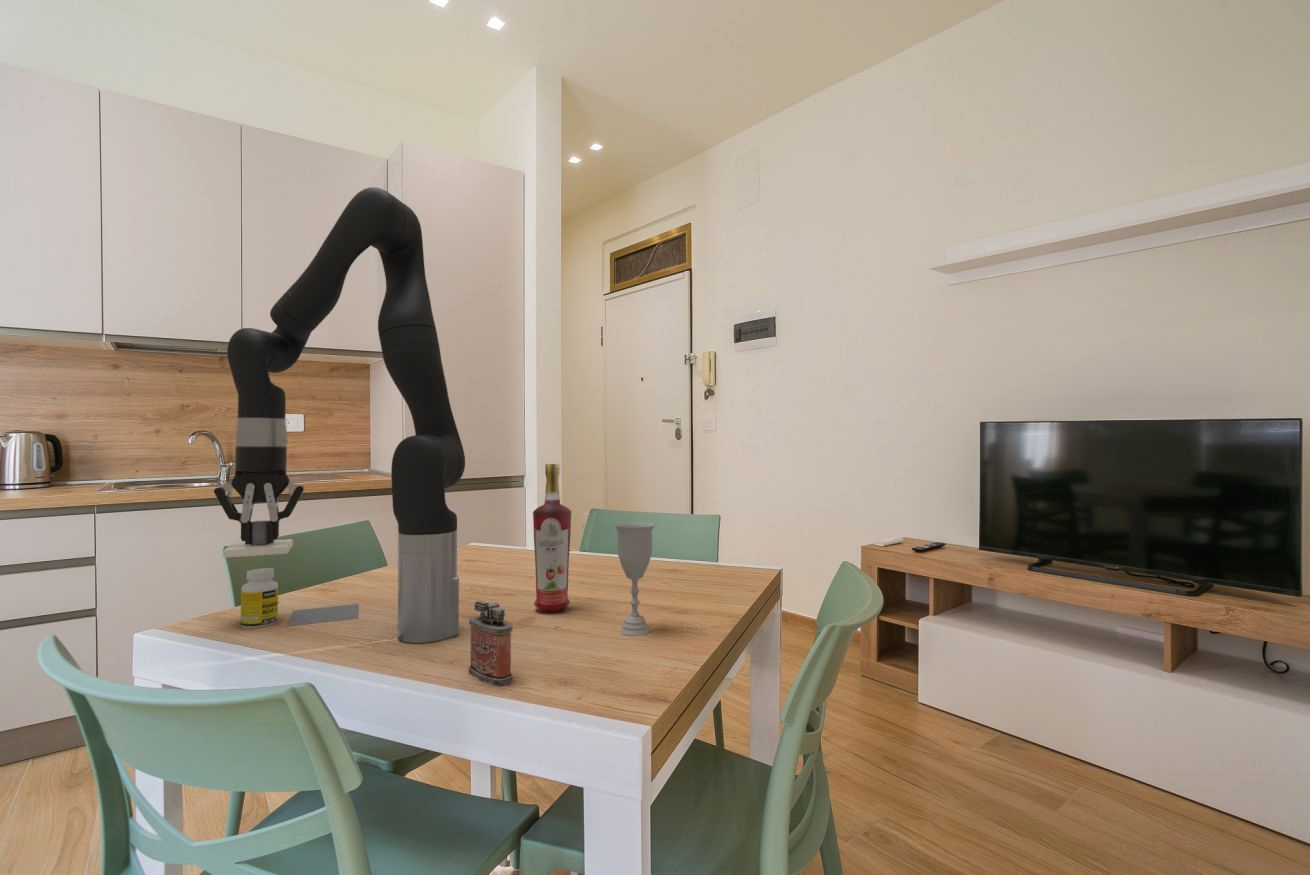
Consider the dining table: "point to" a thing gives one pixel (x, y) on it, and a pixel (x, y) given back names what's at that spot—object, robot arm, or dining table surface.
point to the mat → (323, 614)
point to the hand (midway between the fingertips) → (260, 542)
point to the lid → (258, 543)
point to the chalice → (634, 567)
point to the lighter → (490, 644)
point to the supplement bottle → (259, 599)
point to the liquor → (552, 547)
